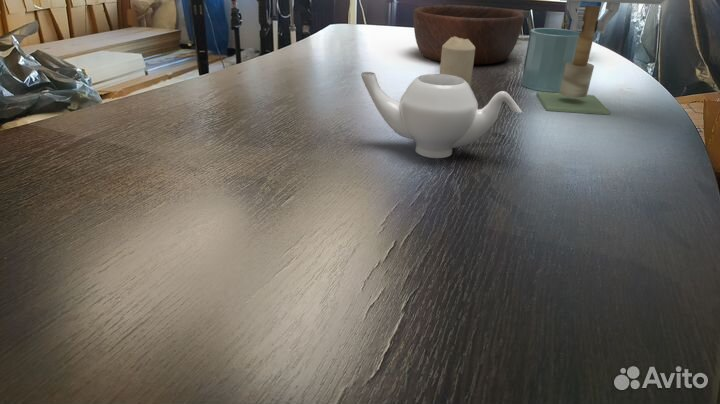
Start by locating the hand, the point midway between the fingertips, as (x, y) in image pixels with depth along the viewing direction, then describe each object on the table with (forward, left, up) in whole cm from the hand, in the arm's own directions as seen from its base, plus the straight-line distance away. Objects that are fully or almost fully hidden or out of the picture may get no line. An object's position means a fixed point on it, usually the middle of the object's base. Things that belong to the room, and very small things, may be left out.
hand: (586, 32), depth 80 cm
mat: (0, 0, -12) cm, 12 cm away
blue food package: (-10, -45, -12) cm, 48 cm away
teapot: (+23, +27, -12) cm, 37 cm away
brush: (0, 0, -10) cm, 10 cm away
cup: (+2, -12, -12) cm, 17 cm away
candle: (+20, 0, -12) cm, 23 cm away
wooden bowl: (+17, -36, -12) cm, 42 cm away
